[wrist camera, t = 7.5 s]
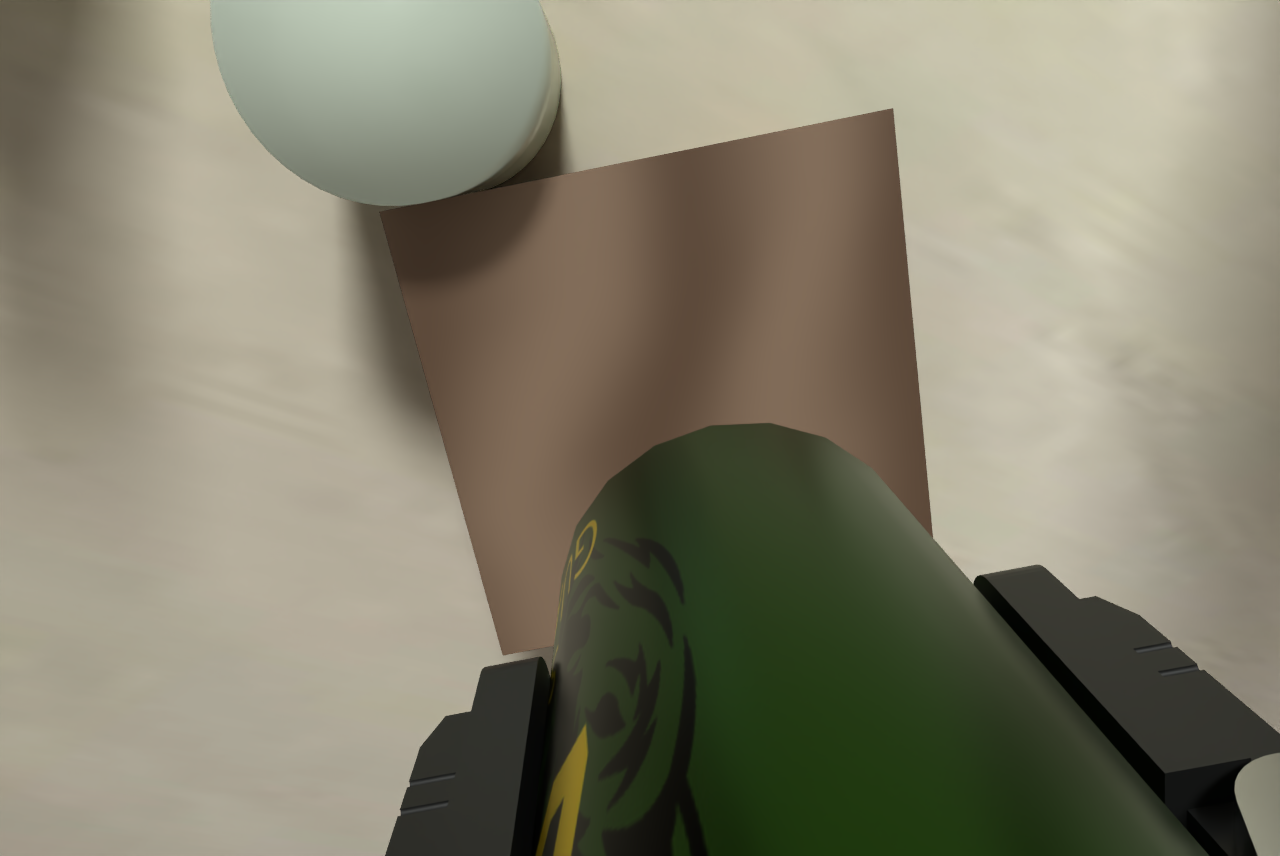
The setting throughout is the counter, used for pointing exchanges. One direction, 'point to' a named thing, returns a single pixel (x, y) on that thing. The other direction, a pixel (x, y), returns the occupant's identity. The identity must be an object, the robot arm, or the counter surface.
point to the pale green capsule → (392, 90)
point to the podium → (658, 330)
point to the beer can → (805, 679)
